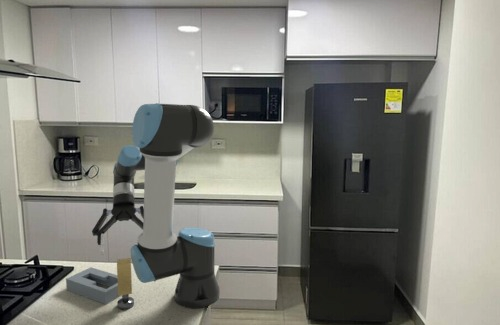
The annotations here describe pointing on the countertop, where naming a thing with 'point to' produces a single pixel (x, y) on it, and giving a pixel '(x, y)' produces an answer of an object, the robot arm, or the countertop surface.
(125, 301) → the peg
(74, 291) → the keyhole block
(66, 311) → the countertop surface
